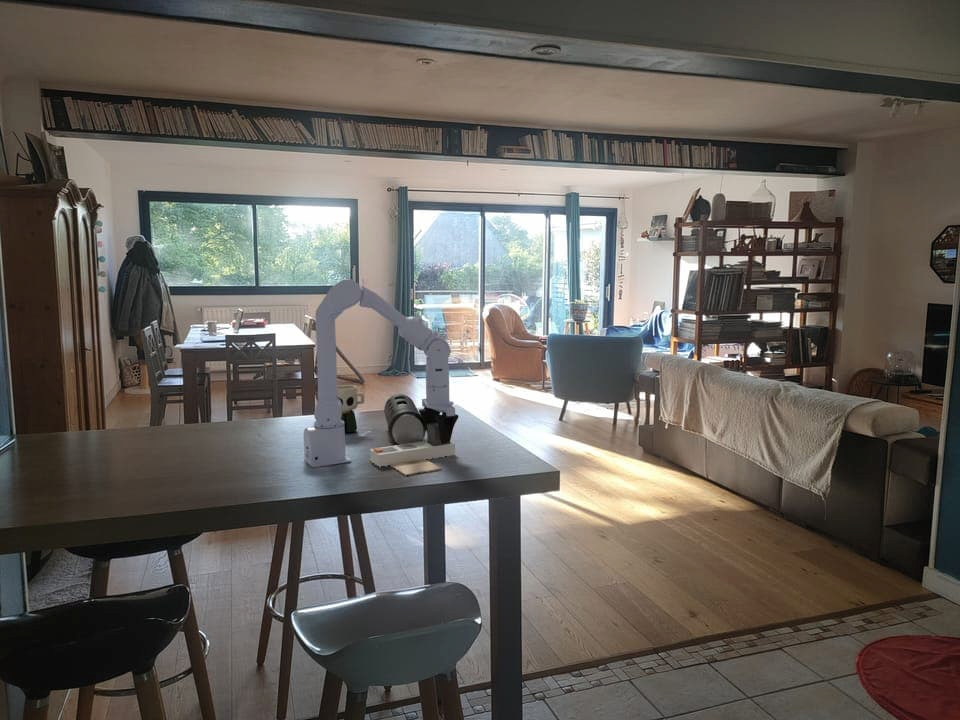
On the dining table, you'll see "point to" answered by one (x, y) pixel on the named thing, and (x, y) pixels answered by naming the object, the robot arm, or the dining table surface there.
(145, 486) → the dining table surface
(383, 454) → the socket strip
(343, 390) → the character mug
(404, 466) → the coaster
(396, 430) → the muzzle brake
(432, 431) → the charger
